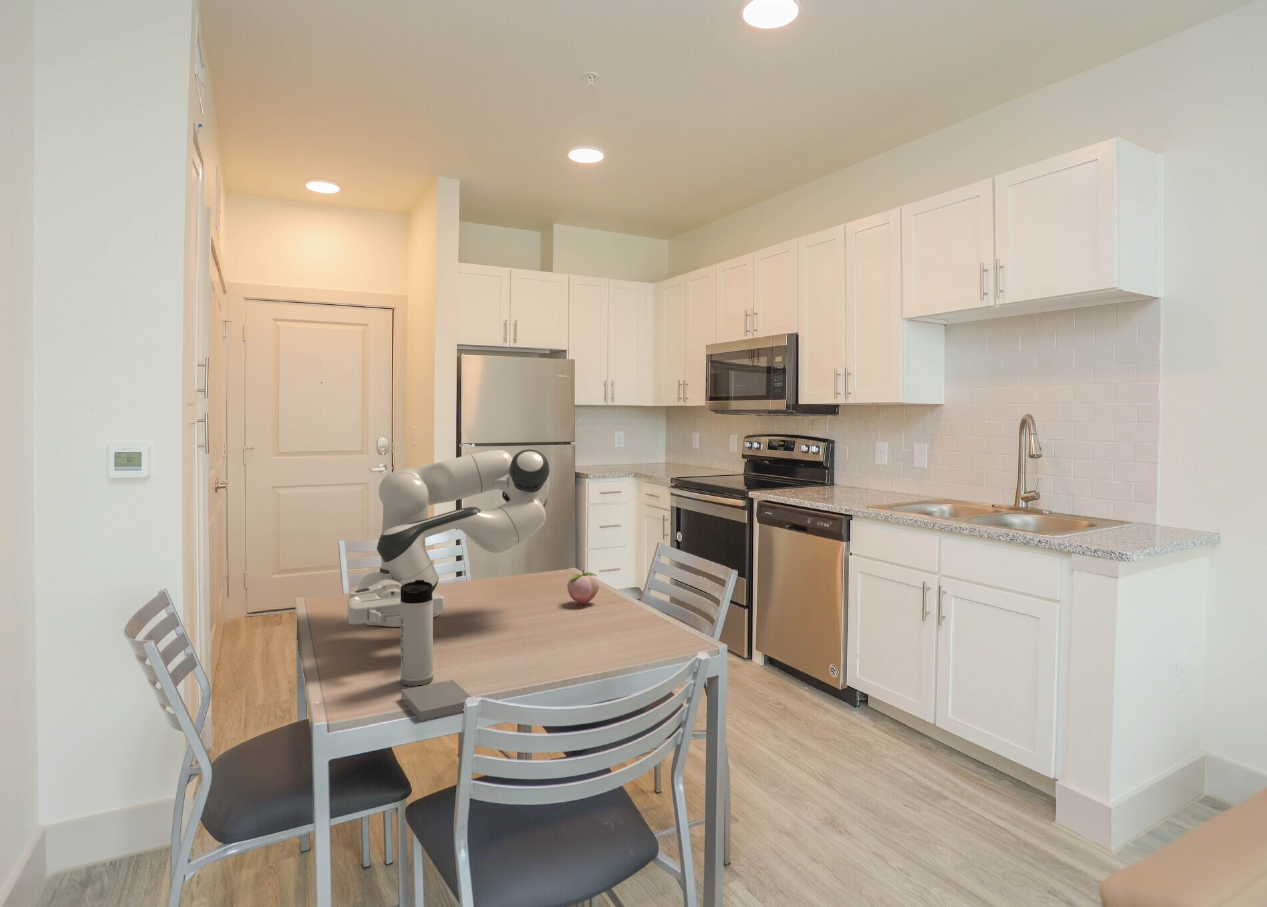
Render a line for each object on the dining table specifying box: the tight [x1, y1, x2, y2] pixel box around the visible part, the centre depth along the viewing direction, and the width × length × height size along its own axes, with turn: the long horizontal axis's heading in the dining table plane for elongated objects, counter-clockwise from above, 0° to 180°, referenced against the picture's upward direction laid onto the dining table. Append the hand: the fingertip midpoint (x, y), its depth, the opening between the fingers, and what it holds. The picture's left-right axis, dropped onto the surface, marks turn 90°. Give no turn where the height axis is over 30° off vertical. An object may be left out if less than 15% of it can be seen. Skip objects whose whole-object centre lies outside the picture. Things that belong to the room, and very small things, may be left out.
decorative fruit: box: [567, 569, 600, 605], centre depth 207 cm, size 9×8×10 cm
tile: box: [400, 679, 472, 722], centre depth 134 cm, size 2×10×12 cm
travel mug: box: [400, 580, 434, 687], centre depth 146 cm, size 6×7×20 cm
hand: (405, 615), depth 151 cm, fingers open, 8 cm apart
